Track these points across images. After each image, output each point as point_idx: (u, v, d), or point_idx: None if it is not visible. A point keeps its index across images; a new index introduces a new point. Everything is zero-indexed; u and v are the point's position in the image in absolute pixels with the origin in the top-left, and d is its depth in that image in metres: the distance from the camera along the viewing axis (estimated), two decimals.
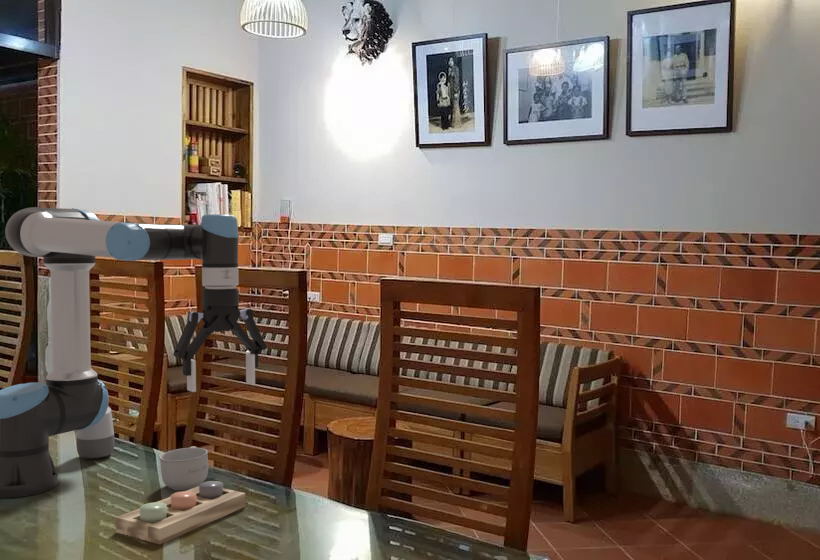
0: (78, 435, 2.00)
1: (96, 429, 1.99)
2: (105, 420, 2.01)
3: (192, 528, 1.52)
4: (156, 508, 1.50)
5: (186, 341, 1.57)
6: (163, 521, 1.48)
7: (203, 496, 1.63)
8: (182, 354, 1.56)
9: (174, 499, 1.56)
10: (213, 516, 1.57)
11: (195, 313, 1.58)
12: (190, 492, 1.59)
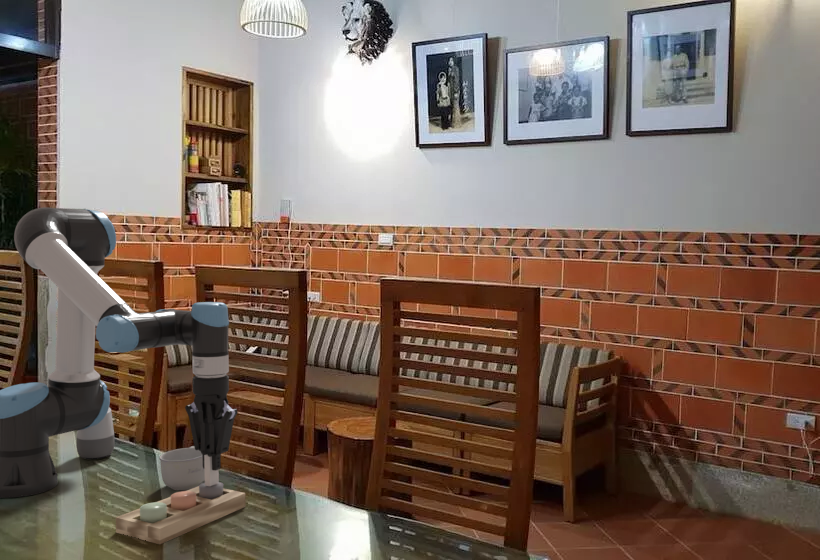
0: (78, 435, 2.00)
1: (96, 429, 1.99)
2: (105, 420, 2.01)
3: (192, 528, 1.52)
4: (156, 508, 1.50)
5: (193, 433, 1.65)
6: (163, 521, 1.48)
7: (203, 497, 1.63)
8: (196, 446, 1.65)
9: (174, 499, 1.56)
10: (213, 516, 1.57)
11: (186, 407, 1.66)
12: (190, 492, 1.59)
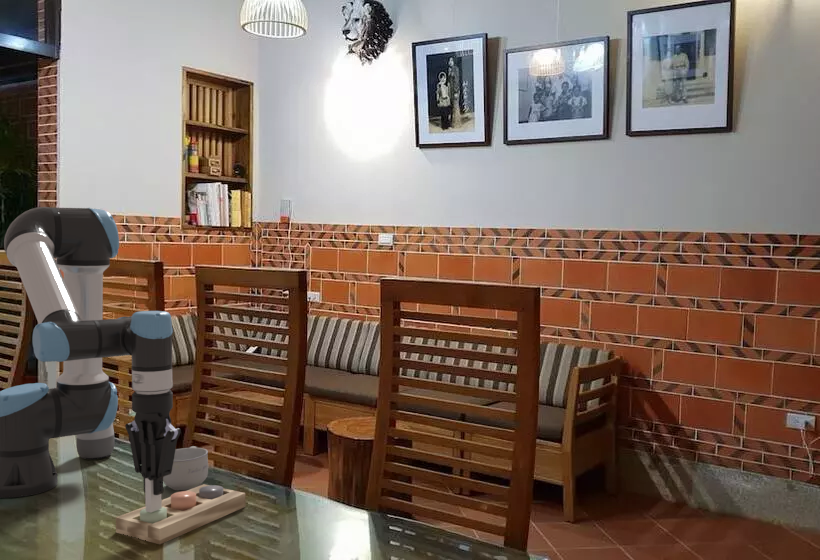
0: (78, 435, 2.00)
1: None
2: None
3: (192, 528, 1.52)
4: (156, 513, 1.50)
5: (134, 454, 1.51)
6: (163, 521, 1.48)
7: None
8: (137, 468, 1.51)
9: (174, 499, 1.56)
10: (213, 516, 1.57)
11: (126, 425, 1.52)
12: (190, 492, 1.59)
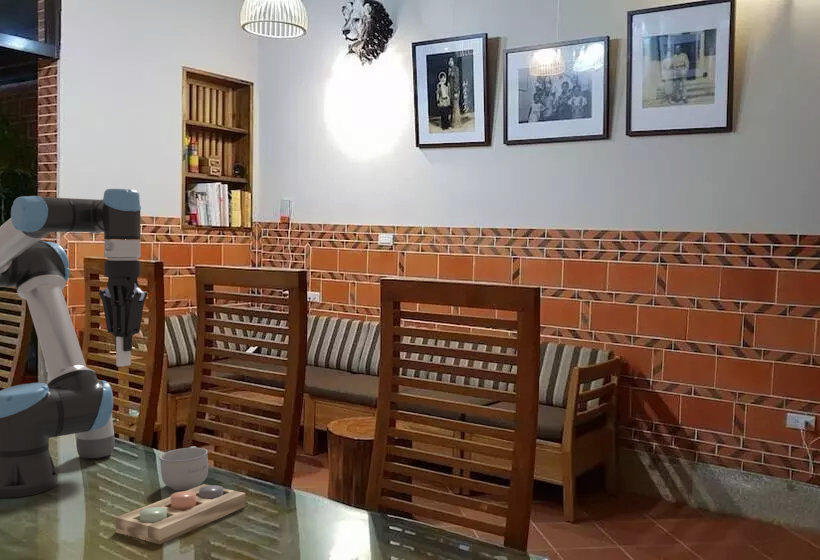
0: (78, 435, 2.00)
1: (96, 429, 1.99)
2: None
3: (192, 528, 1.52)
4: (156, 513, 1.50)
5: (106, 317, 1.71)
6: (163, 521, 1.48)
7: None
8: (109, 328, 1.71)
9: (174, 499, 1.56)
10: (213, 516, 1.57)
11: (99, 291, 1.72)
12: (190, 492, 1.59)
